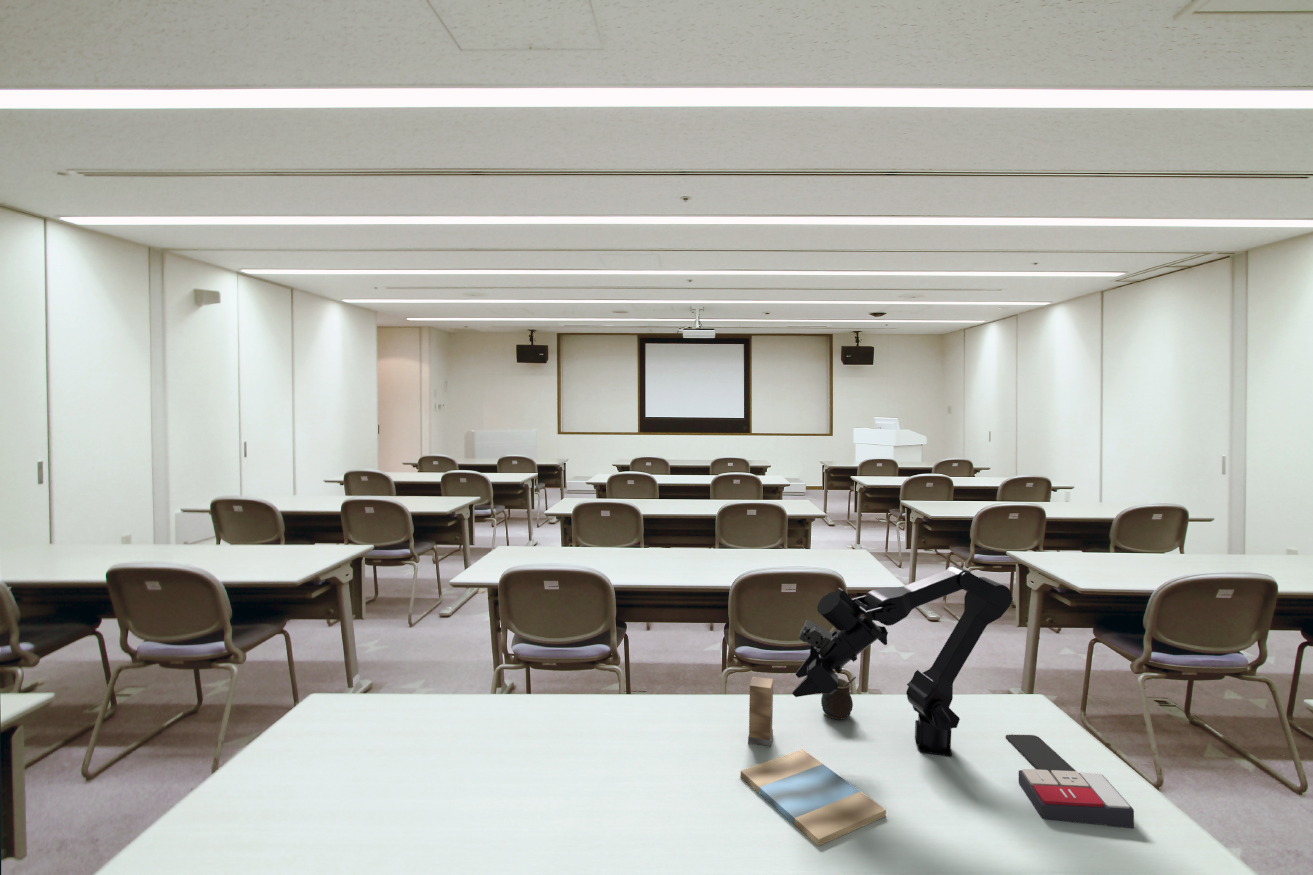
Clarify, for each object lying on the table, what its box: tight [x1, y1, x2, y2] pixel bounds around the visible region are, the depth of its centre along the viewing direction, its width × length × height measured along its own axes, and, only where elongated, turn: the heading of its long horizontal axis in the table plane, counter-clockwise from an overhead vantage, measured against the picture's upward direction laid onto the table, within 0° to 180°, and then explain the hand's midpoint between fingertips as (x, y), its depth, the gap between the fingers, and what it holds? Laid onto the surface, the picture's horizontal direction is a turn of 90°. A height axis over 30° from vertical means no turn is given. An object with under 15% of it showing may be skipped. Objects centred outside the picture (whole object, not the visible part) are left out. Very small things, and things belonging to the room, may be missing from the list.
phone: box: [1005, 734, 1078, 772], centre depth 134 cm, size 7×1×15 cm
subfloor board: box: [740, 749, 887, 847], centre depth 121 cm, size 22×16×1 cm
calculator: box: [1018, 768, 1135, 829], centre depth 118 cm, size 11×4×15 cm
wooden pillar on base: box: [747, 676, 774, 748], centre depth 139 cm, size 5×5×13 cm
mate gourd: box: [820, 676, 857, 721], centre depth 150 cm, size 7×8×10 cm
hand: (795, 685), depth 137 cm, fingers open, 9 cm apart
